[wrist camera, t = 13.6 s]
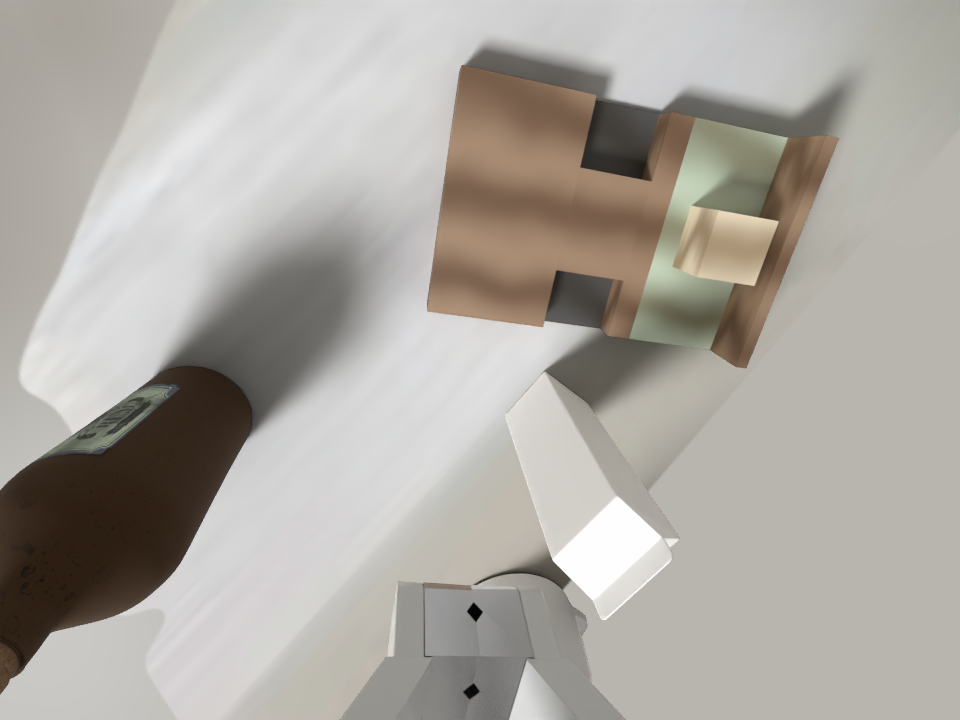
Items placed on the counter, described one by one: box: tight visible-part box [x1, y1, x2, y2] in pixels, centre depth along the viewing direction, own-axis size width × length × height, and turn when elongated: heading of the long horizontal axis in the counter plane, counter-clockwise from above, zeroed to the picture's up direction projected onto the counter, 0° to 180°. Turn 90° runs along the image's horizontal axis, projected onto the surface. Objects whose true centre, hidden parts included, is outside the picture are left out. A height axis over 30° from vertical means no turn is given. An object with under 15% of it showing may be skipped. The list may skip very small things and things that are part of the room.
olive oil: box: [0, 366, 252, 694], centre depth 33 cm, size 11×11×25 cm
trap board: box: [427, 65, 839, 368], centre depth 39 cm, size 18×27×6 cm, turn 80°
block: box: [672, 206, 779, 286], centre depth 39 cm, size 5×5×4 cm
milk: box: [505, 371, 680, 620], centre depth 38 cm, size 6×6×22 cm
